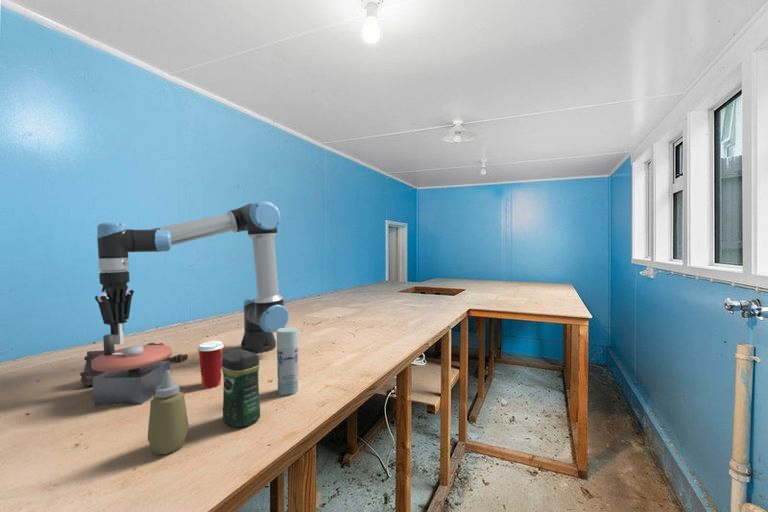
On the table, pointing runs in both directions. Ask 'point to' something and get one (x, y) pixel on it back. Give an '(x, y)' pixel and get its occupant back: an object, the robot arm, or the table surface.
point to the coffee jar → (240, 388)
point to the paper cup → (211, 363)
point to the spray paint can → (287, 360)
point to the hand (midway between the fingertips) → (117, 343)
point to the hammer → (90, 373)
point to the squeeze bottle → (167, 417)
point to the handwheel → (128, 356)
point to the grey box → (128, 385)
